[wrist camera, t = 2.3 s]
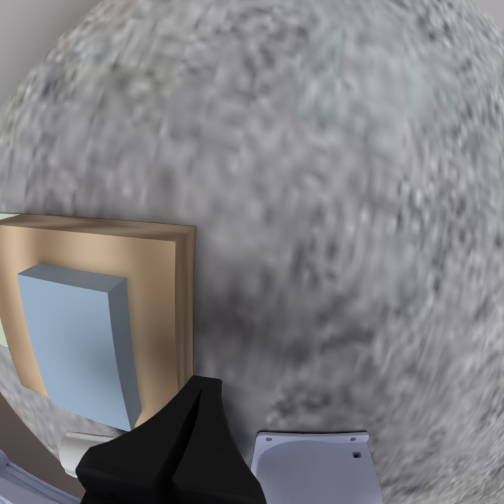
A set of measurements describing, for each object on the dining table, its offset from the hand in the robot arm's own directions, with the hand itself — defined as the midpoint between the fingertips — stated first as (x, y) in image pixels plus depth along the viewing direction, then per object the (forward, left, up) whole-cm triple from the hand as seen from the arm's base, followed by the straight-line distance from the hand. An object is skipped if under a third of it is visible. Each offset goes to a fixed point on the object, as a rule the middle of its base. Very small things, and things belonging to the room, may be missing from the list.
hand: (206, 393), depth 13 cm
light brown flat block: (+9, 0, -6) cm, 11 cm away
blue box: (+7, 0, -2) cm, 8 cm away
